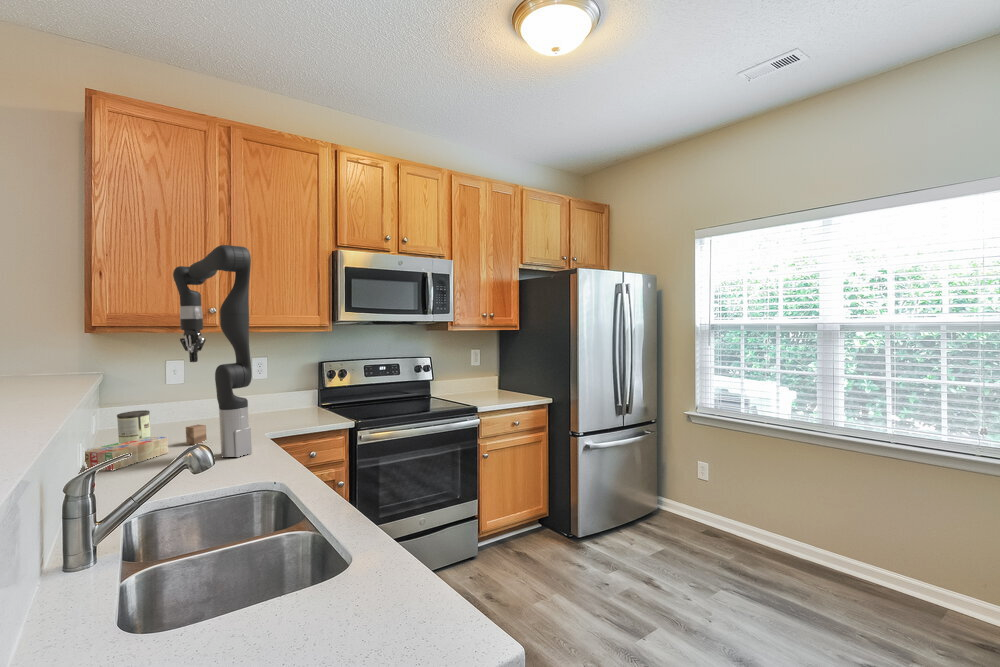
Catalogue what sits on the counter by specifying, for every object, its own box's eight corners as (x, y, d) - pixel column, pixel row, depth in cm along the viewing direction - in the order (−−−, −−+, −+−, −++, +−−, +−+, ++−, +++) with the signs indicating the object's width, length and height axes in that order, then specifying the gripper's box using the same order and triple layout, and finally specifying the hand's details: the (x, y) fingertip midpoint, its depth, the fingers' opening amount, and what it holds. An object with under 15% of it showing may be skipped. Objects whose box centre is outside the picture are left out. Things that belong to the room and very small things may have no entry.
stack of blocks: (168, 453, 184) (141, 452, 186) (167, 436, 183) (140, 436, 186) (112, 471, 163) (82, 470, 165) (111, 452, 162) (81, 451, 165)
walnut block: (206, 442, 199) (205, 425, 199) (194, 445, 194) (193, 427, 194) (198, 441, 201) (198, 424, 201) (186, 444, 197) (185, 427, 196)
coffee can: (122, 447, 195) (120, 412, 194) (153, 443, 199) (152, 409, 199) (115, 453, 185) (113, 416, 185) (148, 449, 190) (146, 413, 189)
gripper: (171, 318, 192) (173, 362, 193) (192, 317, 186) (194, 363, 187) (190, 318, 199) (192, 360, 199) (211, 317, 193) (213, 361, 194)
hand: (193, 361), depth 193 cm, fingers closed
